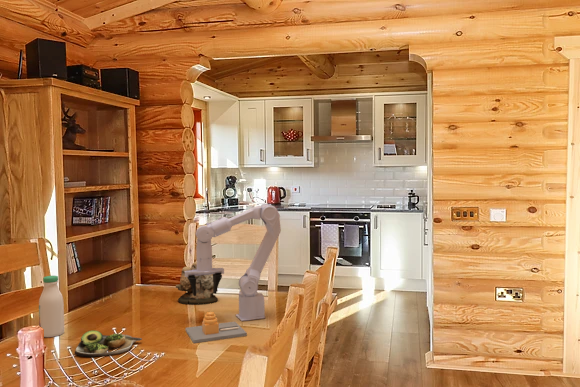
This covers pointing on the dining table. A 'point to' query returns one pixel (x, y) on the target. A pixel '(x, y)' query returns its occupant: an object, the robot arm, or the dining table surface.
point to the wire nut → (210, 324)
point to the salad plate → (103, 344)
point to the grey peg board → (225, 332)
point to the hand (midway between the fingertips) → (204, 294)
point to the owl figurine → (202, 288)
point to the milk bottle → (51, 308)
